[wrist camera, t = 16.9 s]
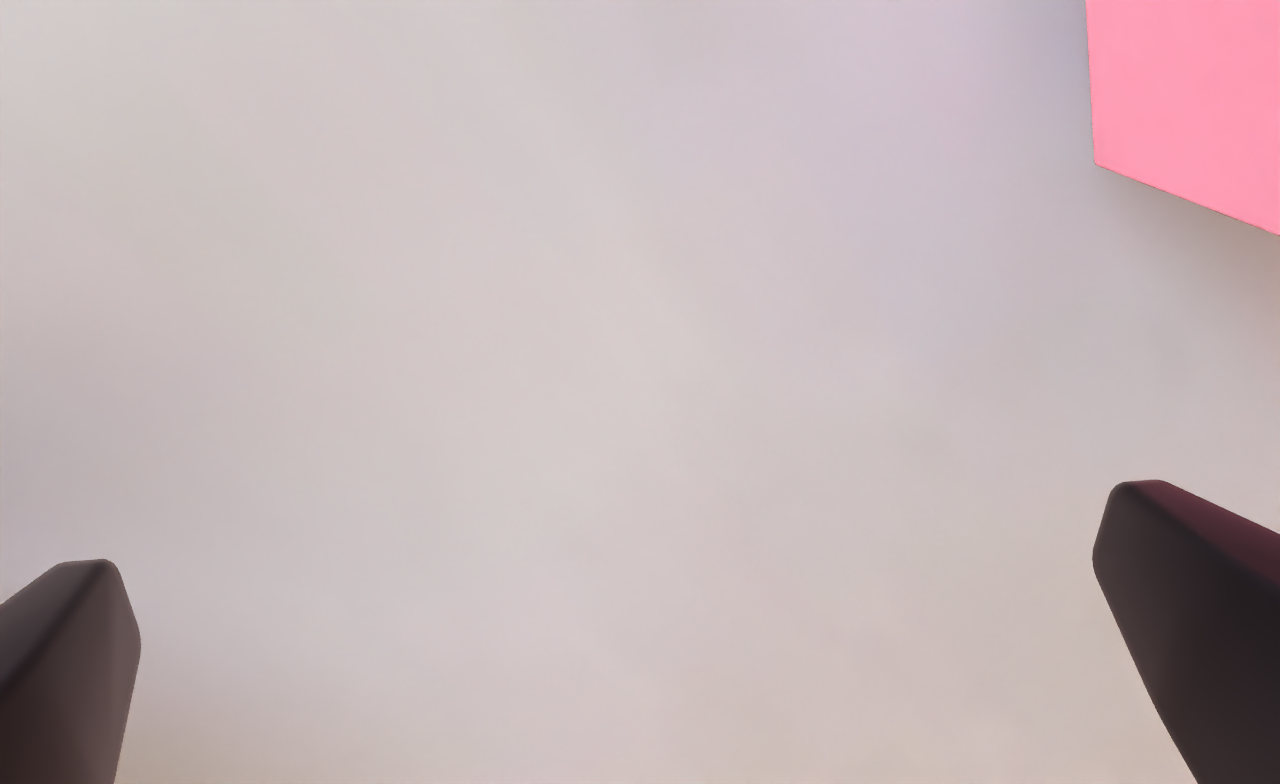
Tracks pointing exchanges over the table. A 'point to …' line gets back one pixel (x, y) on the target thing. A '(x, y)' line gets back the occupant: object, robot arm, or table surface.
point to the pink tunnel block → (1190, 100)
